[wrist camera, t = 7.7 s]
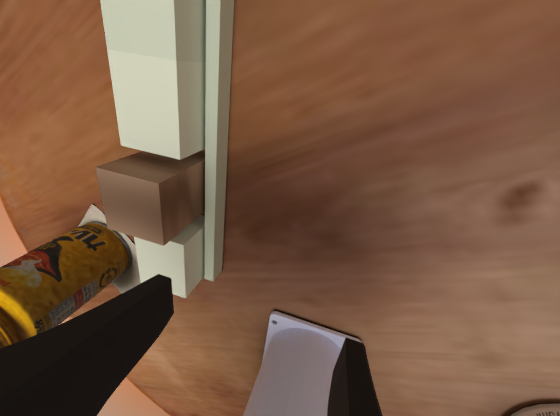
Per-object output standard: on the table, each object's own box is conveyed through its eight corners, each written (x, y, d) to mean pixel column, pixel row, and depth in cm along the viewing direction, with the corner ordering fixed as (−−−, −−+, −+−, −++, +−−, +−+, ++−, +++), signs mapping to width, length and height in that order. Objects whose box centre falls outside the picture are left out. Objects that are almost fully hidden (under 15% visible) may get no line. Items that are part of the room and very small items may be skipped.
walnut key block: (213, 204, 21) (163, 245, 16) (168, 192, 22) (107, 228, 17) (214, 154, 19) (158, 183, 14) (165, 143, 20) (95, 167, 15)
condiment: (93, 202, 25) (-100, 292, 15) (161, 267, 26) (25, 392, 16) (69, 241, 29) (-101, 335, 18) (129, 296, 30) (2, 414, 19)
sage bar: (222, 269, 24) (197, 302, 20) (172, 253, 25) (140, 282, 21) (236, -43, 14) (192, -81, 11) (152, -50, 15) (87, -87, 12)
